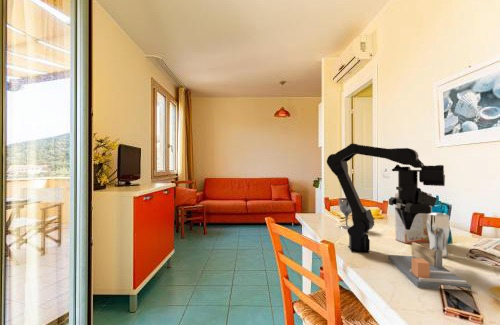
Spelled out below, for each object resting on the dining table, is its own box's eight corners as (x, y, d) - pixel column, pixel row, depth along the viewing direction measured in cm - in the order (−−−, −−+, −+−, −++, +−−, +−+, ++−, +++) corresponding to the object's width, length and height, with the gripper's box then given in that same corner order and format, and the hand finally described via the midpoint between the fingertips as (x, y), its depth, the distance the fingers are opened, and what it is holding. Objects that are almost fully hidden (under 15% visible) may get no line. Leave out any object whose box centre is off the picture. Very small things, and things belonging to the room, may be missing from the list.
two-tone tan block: (437, 266, 80) (437, 251, 80) (434, 266, 80) (434, 251, 80) (414, 255, 89) (414, 242, 89) (411, 255, 89) (411, 242, 89)
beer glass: (453, 258, 91) (453, 216, 91) (430, 256, 93) (430, 215, 93) (444, 252, 97) (444, 212, 97) (423, 250, 99) (423, 211, 99)
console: (417, 287, 70) (417, 261, 70) (388, 259, 90) (388, 239, 90) (471, 291, 68) (471, 264, 68) (428, 261, 88) (428, 241, 88)
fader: (417, 277, 72) (417, 262, 72) (411, 272, 75) (411, 257, 75) (429, 278, 71) (429, 263, 71) (422, 272, 75) (422, 258, 75)
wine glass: (357, 229, 131) (357, 200, 131) (341, 229, 131) (341, 200, 131) (351, 225, 138) (351, 198, 139) (336, 225, 139) (336, 198, 139)
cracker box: (420, 238, 117) (420, 192, 117) (432, 242, 111) (432, 193, 111) (394, 239, 114) (394, 192, 114) (405, 244, 108) (405, 194, 108)
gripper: (450, 187, 79) (450, 238, 78) (419, 182, 97) (419, 224, 97) (410, 186, 80) (410, 236, 80) (388, 182, 99) (388, 223, 99)
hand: (407, 229), depth 89 cm, fingers closed
